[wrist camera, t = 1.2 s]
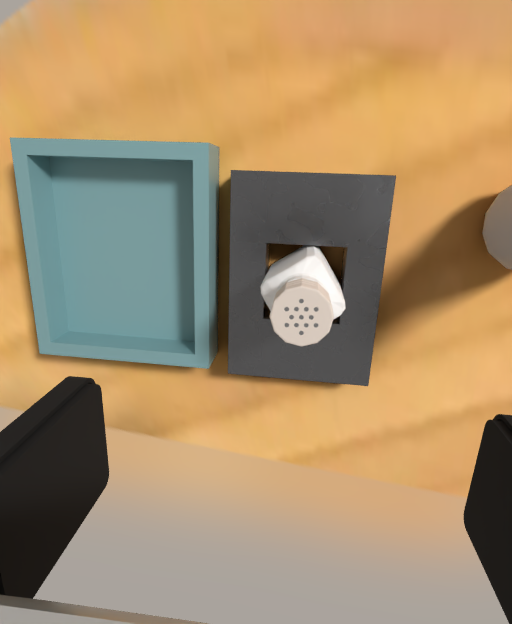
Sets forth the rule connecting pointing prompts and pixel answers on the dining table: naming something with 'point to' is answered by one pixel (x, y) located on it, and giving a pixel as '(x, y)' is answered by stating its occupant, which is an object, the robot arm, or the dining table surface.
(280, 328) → the pepper shaker
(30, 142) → the tray
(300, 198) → the socket block
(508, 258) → the salt shaker
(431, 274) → the dining table surface
